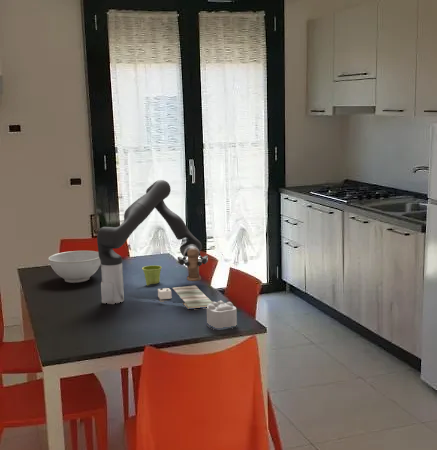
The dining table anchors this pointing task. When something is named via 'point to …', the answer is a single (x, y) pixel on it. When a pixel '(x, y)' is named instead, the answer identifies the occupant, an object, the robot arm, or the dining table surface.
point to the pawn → (193, 265)
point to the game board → (193, 297)
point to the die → (164, 294)
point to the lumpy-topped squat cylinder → (221, 314)
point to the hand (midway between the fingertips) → (193, 264)
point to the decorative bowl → (75, 265)
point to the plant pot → (152, 274)
